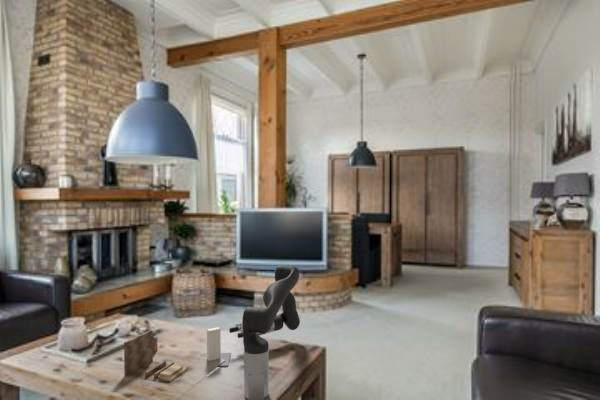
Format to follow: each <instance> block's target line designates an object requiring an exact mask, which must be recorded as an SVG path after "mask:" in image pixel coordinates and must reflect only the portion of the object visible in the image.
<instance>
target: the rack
mask: <svg viewBox="0 0 600 400" xmlns="http://www.w3.org/2000/svg"><path fill="white" fill-rule="evenodd" d="M153 333H154V331H153V329H150V330H148V331H145V332H143V333H140V334H139V335H137V336H135V337H133V338H130V339H129V340H127V341H124V342H123V349H124V350H123V353H124V355H123V356H124V357H123V358H124V363H123V366H124V367H123V368H124V373H123V374H124V377H128V378H134V379H138V380H142V381H143V380H144V381H149V382H150V381H151V382H154V383H155V382H156V383H161V384H164V385H165V384H166V385H173V384H175V382H177V381H178V380H180V379H182V377H184V376H185V375H186V374H189V373H190V372H191V371H192V370H193V369H195V368H194V367H190V366H188V365H187V366H186V365H181V364H175V361H174V362H173V361H172V362H170V363H167V360H163V361H162V362H161V361H160V362H159V361H154V358H153V357H154V352H153Z"/></svg>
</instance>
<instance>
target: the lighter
mask: <svg viewBox="0 0 600 400" xmlns="http://www.w3.org/2000/svg"><path fill="white" fill-rule="evenodd" d="M158 339H159V337H158V336H157V332H154V331H153V353H157V352H158Z"/></svg>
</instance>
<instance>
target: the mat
mask: <svg viewBox="0 0 600 400" xmlns="http://www.w3.org/2000/svg"><path fill="white" fill-rule="evenodd" d="M231 355H232V354H231V352H221V359H220V360H224V361H222V362H221V363H220V364H218V365H217V366H216V368H229V364H230V359H231ZM199 356H200V357H203V358H204V357H205V358H207V353H200V355H199Z"/></svg>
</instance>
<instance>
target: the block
mask: <svg viewBox="0 0 600 400" xmlns="http://www.w3.org/2000/svg"><path fill="white" fill-rule="evenodd" d="M221 346H222V345H221V327H219V326H217V327H213V328H208V329H206V354H207V357H206V360H208V362H211V361H215V360H222V359H221V353H222V352H221Z"/></svg>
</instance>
